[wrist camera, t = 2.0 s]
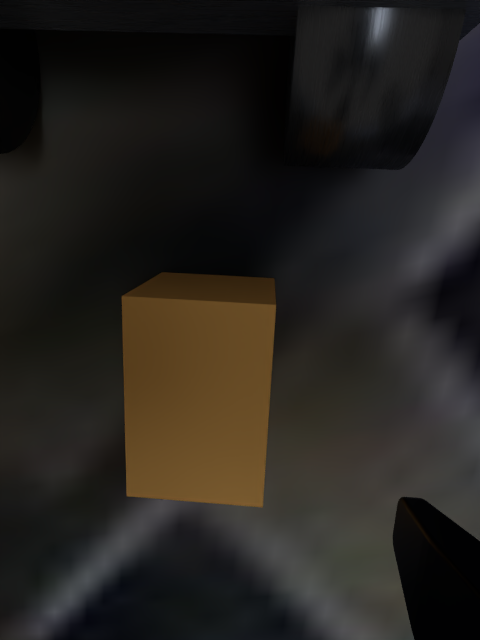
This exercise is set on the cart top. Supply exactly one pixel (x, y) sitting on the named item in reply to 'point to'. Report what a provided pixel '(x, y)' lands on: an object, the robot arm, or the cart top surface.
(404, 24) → the trolley
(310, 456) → the cart top surface
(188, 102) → the cart top surface
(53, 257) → the cart top surface
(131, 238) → the cart top surface
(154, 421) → the block
